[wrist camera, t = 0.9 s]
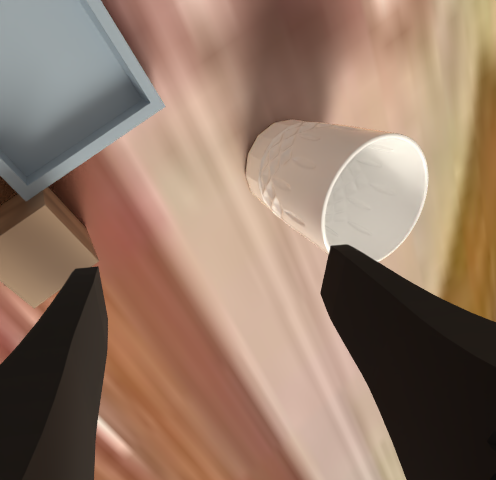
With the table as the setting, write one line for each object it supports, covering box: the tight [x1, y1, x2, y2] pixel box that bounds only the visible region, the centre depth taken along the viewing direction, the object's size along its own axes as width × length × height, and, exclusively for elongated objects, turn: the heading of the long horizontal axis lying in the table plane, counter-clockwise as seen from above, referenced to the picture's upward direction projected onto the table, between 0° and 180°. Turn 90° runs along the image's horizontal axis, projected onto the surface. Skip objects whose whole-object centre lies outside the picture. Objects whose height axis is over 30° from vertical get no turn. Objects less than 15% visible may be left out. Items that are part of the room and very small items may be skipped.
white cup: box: [246, 119, 428, 262], centre depth 26 cm, size 8×8×10 cm
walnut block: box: [0, 187, 99, 308], centre depth 22 cm, size 4×4×5 cm
